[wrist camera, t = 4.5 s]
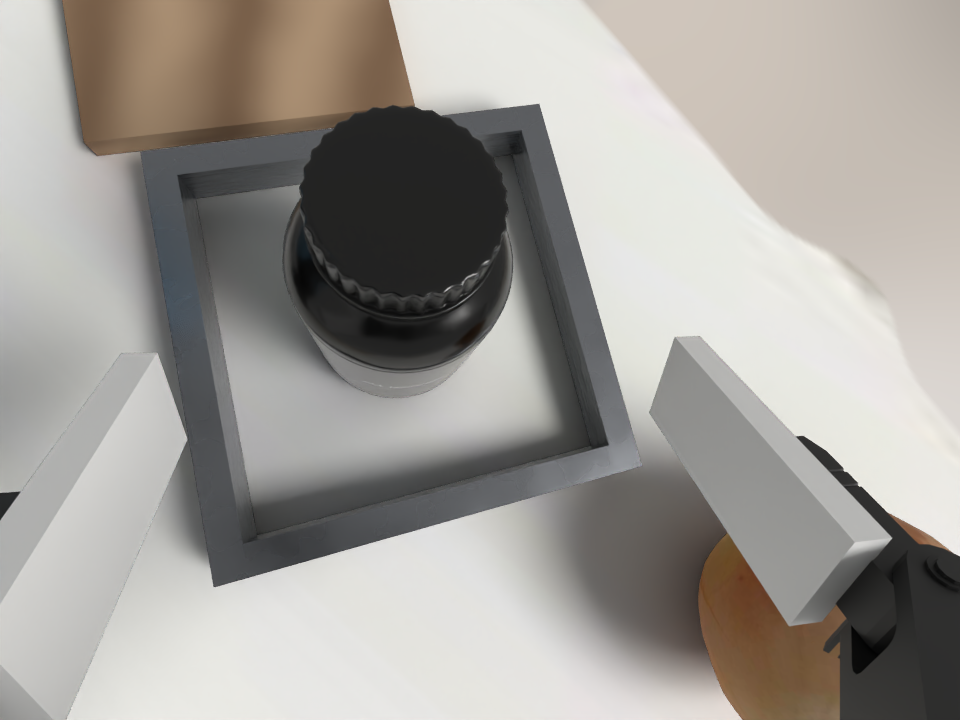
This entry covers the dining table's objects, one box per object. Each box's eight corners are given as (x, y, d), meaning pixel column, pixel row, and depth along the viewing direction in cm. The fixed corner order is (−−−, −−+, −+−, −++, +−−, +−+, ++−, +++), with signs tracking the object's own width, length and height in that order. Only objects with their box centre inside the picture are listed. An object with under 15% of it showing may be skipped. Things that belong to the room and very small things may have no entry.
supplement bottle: (386, 432, 22) (378, 412, 11) (286, 313, 22) (170, 163, 11) (502, 336, 24) (606, 226, 12) (408, 225, 24) (422, 13, 12)
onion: (629, 683, 22) (814, 866, 12) (682, 461, 24) (874, 467, 15) (824, 744, 23) (1138, 958, 13) (858, 524, 25) (1150, 571, 15)
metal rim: (230, 574, 20) (213, 587, 18) (162, 177, 23) (140, 151, 21) (621, 464, 24) (642, 466, 22) (528, 129, 26) (539, 103, 24)
